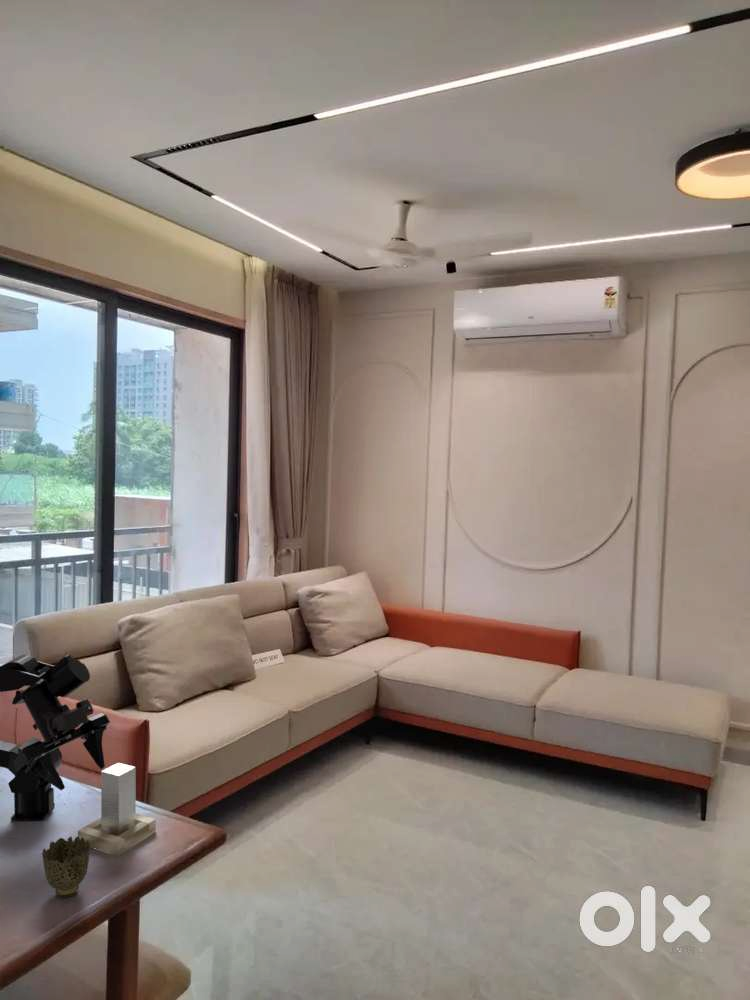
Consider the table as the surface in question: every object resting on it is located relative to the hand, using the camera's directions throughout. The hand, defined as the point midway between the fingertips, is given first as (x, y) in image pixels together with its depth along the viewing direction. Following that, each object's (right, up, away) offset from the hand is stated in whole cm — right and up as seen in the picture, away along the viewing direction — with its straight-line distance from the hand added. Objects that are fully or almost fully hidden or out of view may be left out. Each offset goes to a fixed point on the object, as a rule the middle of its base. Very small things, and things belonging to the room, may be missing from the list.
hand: (83, 778), depth 144 cm
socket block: (+8, -11, -3) cm, 14 cm away
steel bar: (+8, -10, -3) cm, 13 cm away
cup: (+6, -11, -21) cm, 25 cm away
